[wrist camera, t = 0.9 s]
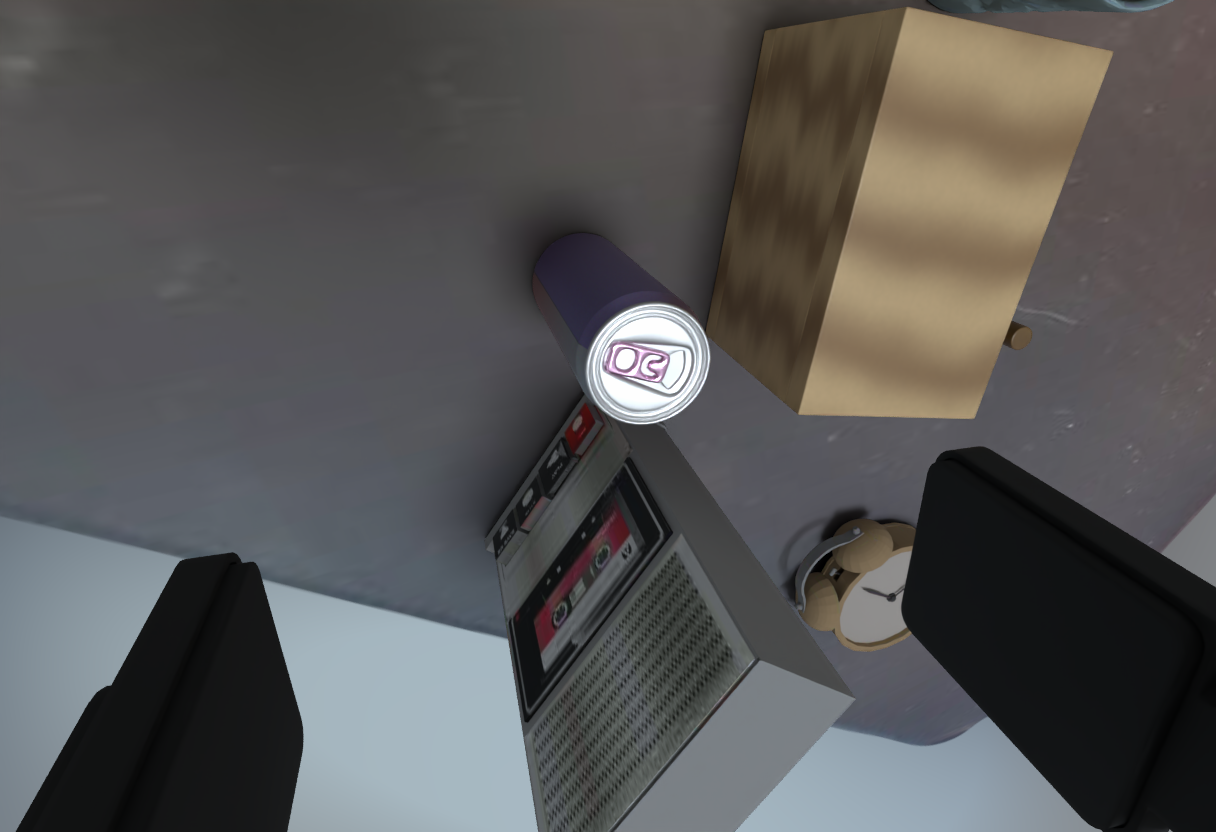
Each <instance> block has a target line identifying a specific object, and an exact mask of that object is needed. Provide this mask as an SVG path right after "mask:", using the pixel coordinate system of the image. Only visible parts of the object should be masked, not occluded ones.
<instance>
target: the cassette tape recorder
mask: <svg viewBox="0 0 1216 832" xmlns="http://www.w3.org/2000/svg"><path fill="white" fill-rule="evenodd" d="M665 428H666V426H665V425H664V423H663V422H659V423H655V424H650V425H632V424H627V423H623V422H620V421H617V420H615V419H613V418H611V417H610V416H608V415H607V414H605V413H604V412H603V411H602V410H601V409H599V408H598V407H597V406H595V405H594V404H593V403H592V402H591V401H590V400H589V399H588V397H587V396H586V395H585V394H584V396H583V397H582V399H581V400H580V401H579V403H578V404H577V406H576V407H575V409H574V410H573V412H572V413H571V415H570V416H569V418H568V419H567V420H566V422H565V423H564V425H563V426H562V428H561V429H560V431H559V432H558V434H557V435H556V437H555V438H554V440H553V441H552V442H551V444H550V445H549V447H548V448H547V450H546V451H545V453H544V454H543V456H542V457H541V459H540V460H539V461H538V463H537V464H536V466H535V467H534V469H533V470H532V472H531V473H530V475H529V476H528V478H527V479H526V480H525V482H524V483H523V485H522V486H521V488H520V489H519V491H518V492H517V494H516V495H515V497H514V498H513V499H512V501H511V502H510V504H509V505H508V507H507V508H506V510H505V511H504V513H503V514H502V516H501V517H500V518H499V520H498V521H497V523H496V524H495V526H494V527H493V529H492V530H491V532H490V533H489V535H488V536H487V537H486V539H485V540H484V541H485V548H486V550H488V551H490V552H492V553H495V558H496V564H497V571H498V577H499V583H500V590H501V596H502V603H503V609H504V615H505V622H506V628H507V635H508V641H509V647H510V654H511V660H512V666H513V673H514V679H515V685H516V692H517V699H518V705H519V711H520V718H521V724H522V730H523V737H524V743H525V750H526V756H527V762H528V769H529V775H530V781H531V787H532V794H533V801H534V807H535V814H536V820H537V826H538V832H735V831H736V829H738V827H739V826H740V825H741V824H742V823H743V822H744V821H745V820H746V819H747V818H748V816H749V815H750V814H751V813H752V812H753V811H754V810H755V809H756V808H757V806H758V805H759V804H760V803H761V802H762V801H763V800H764V799H765V798H766V797H767V795H769V793H770V792H771V791H772V790H773V789H774V788H775V787H776V786H777V785H778V783H779V782H780V781H781V780H782V779H783V778H784V777H785V776H786V775H787V773H789V771H790V770H791V769H792V768H793V767H794V766H795V765H796V764H797V763H798V762H799V761H800V759H801V758H802V757H803V756H804V755H805V754H806V753H807V752H808V751H809V750H810V748H811V747H812V746H813V745H814V744H815V743H816V742H817V741H818V740H819V739H820V738H821V736H822V735H823V734H824V733H825V732H826V731H827V730H828V729H829V728H830V727H831V725H832V724H833V723H834V722H835V721H836V720H837V719H838V718H839V717H840V716H841V714H842V713H843V712H844V711H845V710H846V709H847V708H848V707H849V706H850V705H851V704H852V702H853V701H854V700H855V699H856V698H855V697H854V695H853V694H852V693H851V691H850V690H849V688H848V687H847V686H846V684H845V683H844V681H843V680H842V678H841V677H840V676H839V674H838V673H837V671H836V670H835V669H834V667H833V666H832V664H831V663H830V662H829V660H828V659H827V657H826V656H825V655H824V653H823V652H822V650H821V649H820V648H819V646H818V645H817V643H816V642H815V641H814V639H813V638H812V636H811V635H810V633H809V632H808V631H807V629H806V628H805V626H804V625H803V624H802V622H801V621H800V619H799V618H798V617H797V615H796V614H795V612H794V611H793V610H792V608H791V607H790V605H789V604H788V603H787V601H786V600H785V598H784V597H783V595H782V594H781V593H780V591H779V590H778V588H777V587H776V586H775V584H774V583H773V581H772V580H771V579H770V577H769V576H768V574H767V573H766V572H765V570H764V569H763V567H762V566H761V565H760V563H759V562H758V560H757V559H756V558H755V556H754V555H753V553H752V552H751V550H750V549H749V548H748V546H747V545H746V543H745V542H744V541H743V539H742V538H741V536H740V535H739V534H738V532H737V531H736V529H735V528H734V527H733V525H732V524H731V522H730V521H729V520H728V518H727V517H726V515H725V514H724V513H723V511H722V510H721V508H720V507H719V505H718V504H717V503H716V501H715V500H714V498H713V497H712V496H711V494H710V493H709V491H708V490H707V489H706V487H705V486H704V484H703V483H702V482H701V480H700V479H699V477H698V476H697V475H696V473H695V472H694V470H693V469H692V468H691V466H690V465H689V463H688V462H687V460H686V459H685V458H684V456H683V455H682V453H681V452H680V451H679V449H678V448H677V446H676V445H675V444H674V442H673V441H672V439H671V438H670V437H669V435H668V434H667V432H666V431H665V430H664V429H665Z"/></svg>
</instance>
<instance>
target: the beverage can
mask: <svg viewBox="0 0 1216 832" xmlns="http://www.w3.org/2000/svg"><path fill="white" fill-rule="evenodd" d="M533 293H534V297H535V300H536V303H537V305H538V307H539V309H540V311H541V312H542V314H543V316H544V318H545V320H546V322H547V324H548V326H549V328H550V329H551V331H552V333H553V335H554V337H555V339H556V341H557V343H558V344H559V346H560V348H561V350H562V352H563V354H564V356H565V358H566V360H567V361H568V363H569V365H570V367H571V369H572V371H573V373H574V375H575V377H576V378H577V380H578V382H579V384H580V386H581V388H582V390H583V392H584V393H585V395H586V396H587V397H588V399H589V400H590V401H591V402H592V403H593V404H594V405H595V406H597V407H598V408H599V409H601V410H602V411H603V412H604V413H605V414H607V415H608V416H610V417H611V418H613V419H615V420H617V421H620V422H623V423H627V424H632V425H650V424H655V423H659V422H662V421H665V420H667V419H670V418H672V417H674V416H675V415H677V414H679V413H680V412H681V411H683V410H684V409H685V408H687V407H688V406H689V405H690V404H691V403H692V402H693V401H694V399H695V398H696V397H697V396H698V394H699V393H700V391H701V389H702V388H703V386H704V384H705V381H706V379H707V376H708V373H709V369H710V361H711V352H710V345H709V341H708V338H707V335H706V333H705V331H704V329H703V327H702V325H701V323H700V321H699V319H698V317H697V316H696V314H695V313H694V312H693V311H692V309H691V308H690V307H689V306H688V305H686V304H685V303H684V302H683V301H682V300H680V299H679V298H678V297H677V296H676V295H674V294H673V293H672V292H671V291H669V290H668V289H667V288H666V287H665V286H663V285H662V284H661V283H660V282H658V281H657V280H656V279H655V278H654V277H652V276H651V275H650V274H649V273H647V272H646V271H645V270H644V269H643V268H641V267H640V266H639V265H638V264H637V263H635V262H634V261H633V260H632V259H630V258H629V257H628V256H627V255H626V254H624V253H623V252H622V251H621V250H619V249H618V248H617V247H616V246H615V245H613V244H612V243H611V242H610V241H608V240H606V239H605V238H603V237H600V236H598V235H594V234H589V233H576V234H571V235H568V236H565V237H562V238H560V239H559V240H557V241H555V242H554V243H553V244H551V245H550V246H549V247H548V248H547V249H546V250H545V251H544V252H543V254H542V255H541V257H540V258H539V260H538V262H537V264H536V267H535V270H534V274H533Z"/></svg>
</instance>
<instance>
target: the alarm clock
mask: <svg viewBox="0 0 1216 832" xmlns="http://www.w3.org/2000/svg"><path fill="white" fill-rule="evenodd" d="M915 533H916V529H915V528H913V527H912V526H911V525H907V524H901V523H896V522H895V523H889V524H882V525H881V524H879V523H878V522H876V521H873V520H869V519H856V520H852V521H849V522H847V523H845V524H843V525H842V526H841V527H840V528H839V529H838V530H837V531H836V533H835V535H834V536H833V537H832V538H829V539H827V540H825V541H823V542H822V543H820V544H819V545H817V546H816V547H815V548H814V549H813V550H812V551H811V552H810V553H809V554H808V555H807V556H806V557H805V559H804V560H803V562H802V563H801V565H800V567H799V569H798V571H797V574H796V578H795V586H796V595H795V598H796V605H795V608H796V609H798V611H799V614H800V615H801V617H802V619H803V620H804V621H805V622H806V623H807V624H808V625H809V626H810V627H812V628H814V629H816V630H819V631H831V630H832V631H833V633H834V634H835V635H836V636H837V638H838V639H839V641H840V642H841V644H842V645H844V646H846V647H848V648H850V649H852V650H854V651H867V652H870V651H874V650H879V649H883V648H887V647H889V646H891V645H893V644H895V643H898V642H900V641H902V640H904V639H905V638H907V637H908V636H909V635H911V634H912V633H911V632H910V630H909V629H908V628H907V626H906V624H905V622H904V620H903V617H902V613H901V602H902V597H903V593H904V588H905V583H906V578H907V573H908V568H909V563H910V558H911V553H912V548H913V543H914V538H915ZM831 550H832V553H833V556H832V557H831V558H830V559H829V560H828V561H827V563H826V565H825V566H824V568H823V570H822V572H821V573H819V572H814V573H810V571H811V569H812V568H813V567H814V565H815V564H816V563H817V562H818V561H819V560H820V559H821V558H822V557H823V556H824V555H825V554H827V553H828V552H830V551H831ZM809 573H810V574H809Z"/></svg>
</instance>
